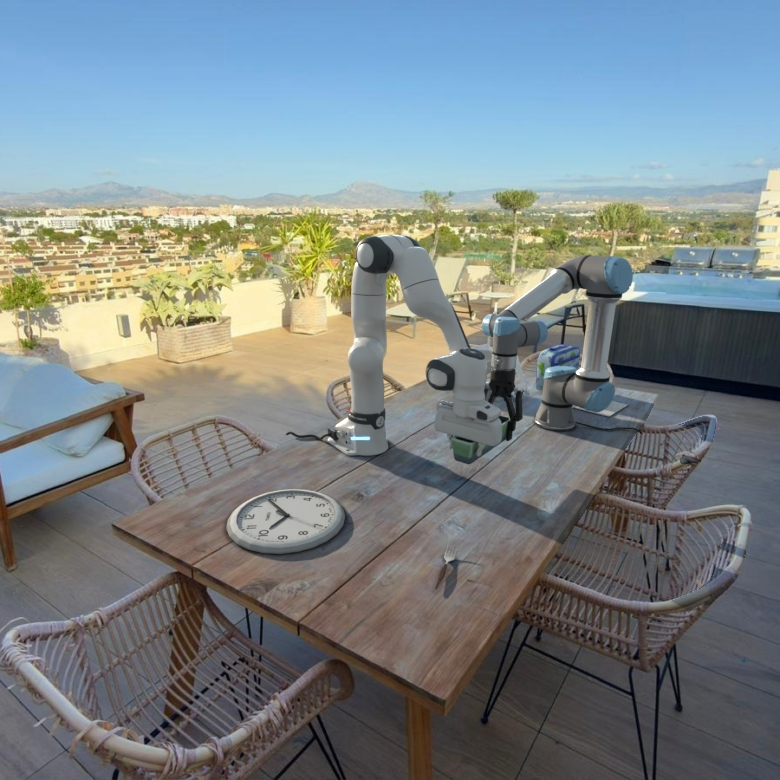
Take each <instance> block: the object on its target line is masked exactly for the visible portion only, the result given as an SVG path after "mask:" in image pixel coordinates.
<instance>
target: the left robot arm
mask: <svg viewBox="0 0 780 780" xmlns="http://www.w3.org/2000/svg"><path fill="white" fill-rule="evenodd" d="M355 261H356V262H355V263H354V266H353V271H352V279H351V289H350V290H351V292H350V293H351V295H350V296H351V297H350V298H351V301H350V303H351V304H350V310H351V312H350V313H351V314H350V317H351V322H352V329H353V344H352V345H351V347H350V348H349V350H348V353H347V363H348V372H349V373H348V374H349V379H350V391H351V393H350V395H351V397H350V399H351V401H350V403H351V405H350V407H349V408H346V409H345V413H348V414H347V417H345V418H344V419H343V420H341V421H340V422H338V423H336V425H335V426H329V427H327V433H325V434H323V435H321V436H318V435H316V434H302V435H301V434H297V433H295V432H293V431H287V432H286V433H285V436H289V435H292V436H293V437H296V438H298V439H307V438H313V439H316V440H319V441H320V440H323V439H325V438H326V437H328V438H327V439H326V442H327V443H328V444H330V446H332V447H334V448H336V449H337V450H339V451H340V452H341V453H343V454H345V455H346V456H348V457H349V456H367V457H368V456H377V455H380V454H383V453H385V452H387V451H388V450H389V443H388V437H387V431H386V430H387V429H386V422H385V421H386V415H387V414H386V413H387V411H386V408H385V383H384V382H385V380H384V361H385V360H384V359H385V358H386V355H387V351H388V339H387V338H388V335H387V333H388V332H387V282H388V278H389V276H390V275H392V274H394V275H396V277H397V279H398V281H399V284H400V289H401V292H402V296H403V299H404V300H403V301H404V303H405V304H406V307H407V308H408V311H410V313H412V314H413V315H415V316H417V317H419V318H421V319H425V320H428V321H430V322H432V323H434V324H435V325H437V326H438V328H439V329H440V330H441V331H440V332H441V333H442V336H443V338H444V340H445V343H446V345H447V348H448V350H449V354H447V355H442V356H437V357H436V358H433V359H431V360H430V361H429V362H428V363H427V364H426V367H425V378H426V381H427V383H428V386H430V387H431V388H432V389H434V390H436V391H441V392H443V391H444V392H452V393H453V395H452V397H453V398H452V401H446V400H440V401H438V402H437V403H436V409H435V410H436V413H435V419H434V426H433V427H434V429H435V431H437V432H440V433H444V434H446V438H447V440H448V442H449V448H450V449H452V450H453V448H452V442H451V438H452V437H454V436H457V437H461V438H465V439H468V440H472V441H475V442H478V445H479V446H480V447H479V448H477V449H475V450H474V455H475V456H481V453H482V449H483V448H484V446H485V445H490V446H496V445H497V444H499V443H500V442H501V440H502V423H501V420H500V419H499V418H498V417H499V416H500V415H502V410H501V409H500V407H497V406H496V405H494V404H493V405H492V404H490V403H489V402H488V400H487V399H486V400H485V393H484V388H485V385H486V382H487V379H488V374H487V362H486V358H485V355H484V354H483V353H482V352H480V351H478V350H476V349H471V347H472V346H470V342H469V341H468V339H467V336H466V333H465V331H464V329H463V326H462V322H461V321H460V319H459V316H458V314H457V311H456V310H455V308H454V305H452V303H451V302H450V301H449V300H448V298H447V296H446V294H445V292H444V290H443V288H442V286H441V282H440V279H439V275H438V272H437V269H436V267H435V264H434V262H433V260H432V257H431V256H430V254H429V252H428V251H427V249H425V248H424V247H421V246H420V244H419V242H418V241H417V240H416V239H415V238H414V237H411V236H408V235H397V234H386V235H378V236H376V235H371V236H367V237H365V238H363V239H361V240H360V241H359V242H358V244H357V246H356V248H355ZM500 444H501V443H500ZM500 444H499V445H500ZM497 446H498V445H497ZM497 446H496V447H497Z"/></svg>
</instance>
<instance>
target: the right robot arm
mask: <svg viewBox="0 0 780 780" xmlns="http://www.w3.org/2000/svg"><path fill="white" fill-rule="evenodd" d="M633 273H634V271H633V268H632V265H631V264H630V262H629V261H628V260H627V259H626V258H624V257H619V256H614V255H592V254H584V255H583V254H582V255H579V256H576V257H575V256H574V257H573V258H571V259H569V260H566V261H564V262H563V263H561V264H559V265H558V266H557V267H555V268H554V269H552V270H551V271H550V272H549V274H548V275H549V276H548V277H546V278H545V279H544V280H543V281H541V282H540V283H539V284H537V285H535V286H534V287H533V288H531V289H530V290H529V291H527V292H526V293H525V294H523V296H521V297H520V298H518V299H516V300H515V301H514V302H513V303H511V304H510V305H509V306H507V307H506V308H504V309H503V310H502V311H501V312H499V313H497V314H498V315H496V314H493V313H490V314H487V315H485V317H484V318H483V320H482V321H481V330H482V333H483V334H484V335H485V336H487V337H491V338H492V362H491V366H492V368H491V372H490V373H489V376H490V377H489V378H490V379H489V381H488V382H487V381H486V385H485V388H484V393H485V400H486V401H487V402H489V403H490V404H492V405H494V403H495V401H496V399H497V397H500V398H502V399H503V401H504V402H505V405H506V410H507V413H508V417H510V420H509V421H508V425H507V436H506V440H505V441H506V442H509V441H511V440H513V432H514V431H516V427H517V422H520V421H522V420H523V419H524V418H523V416H524V415H523V414H524V413H523V412H524V411H523V395H524V390H523V389H522V388H518V387H516V385H515V381H516V372H517V369H516V361H517V355H518V350H519V348H523V347H531V346H537V345H540V344H543V343H545V342H546V340H547V339H548V335H549V330H548V327H547V325H546V324H545V322H543V321H542V320H535V319H533V320H530V319H531V318H533V316H535V315H536V314H538V313H539V312H540V311H542V310H543V309H544V308H545V307H547V306H548V305H549V304H551V303H552V302H554V300H556V299H557V298H559V297H560V296H561V295H562V294H563V295H565V294H568V293H570V292H571V291H573V290H577V289H579V290H580V289H581V290H585V298H587V300H588V311H587V318H586V326H585V333H584V338H583V339H584V340H583V347H582V355H581V363H580V367H578V370H577V368H575V367H570V366H555V367H549V368H547V369H546V370H545V375H544V378H543V379H544V380H543V391H541V402H540V405H539V407H538V410H537V411H536V413H535V415H534V417H533V419H534V424H535V425H536V426H537V427H539V428H542V429H544V430H549V431H556V432H567V431H572V430H574V429H575V428H576V425H580V426H584V427H587V428H592V429H595V430H600V431H601V430H602V431H616V430H632V431H636V432H638V433H639V434H640V435H643V434H644V433H643V432H642V431H641V430H640V429H639V428H636V427H621V426H618V427H612V428H607V427H599V426H594V425H591V424H586V423H583V422H578V421H576V418H575V417H576V416H575V413H574V407H576V406H577V407H580V408H583V409H586V410H588V411H593V412H601V411H603V410H605V409H606V408H607V407H608V406H609V405H610V403H611V402H612V401H614V397H615V394H616V387H615V384H614V383H612V382H611V381H610V378H611V374H610V373H609V371H607V367H608V363H609V354H610V347H611V342H612V341H611V340H612V335H613V327H614V321H615V315H616V314H615V313H616V308H617V303H618V302H619V301H620V300H621V299H622V298H623V294H626V293H627V292H628V291H629V290H630V287H632V283H633V280H634V279H633V277H634V274H633ZM489 389H490V390H491V392H490V394H489V398H488V400H487V396H488V392H489ZM513 391H514V392H515V395H516V396H515V397H514V401H513V395H512V394H511V393H512V392H513ZM573 406H574V407H573ZM588 411H587V412H588Z"/></svg>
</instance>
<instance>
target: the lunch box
mask: <svg viewBox="0 0 780 780" xmlns="http://www.w3.org/2000/svg"><path fill="white" fill-rule="evenodd" d="M580 350H581V349H580V347H579V346H572V345H566V344H559V345H555V346H552V347H549V348H547V349H544V350H542V351H541V352H540V353H539V355H538V357H537V362H536V374H535V389H536V390H537V391H541V392H542V391H543V380H544V379H543V378H544V375H545V370H546V369H547V368H549V367H555V366H570V367H575V368H577V370H578V369H579V368H580V357H581V351H580Z"/></svg>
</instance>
